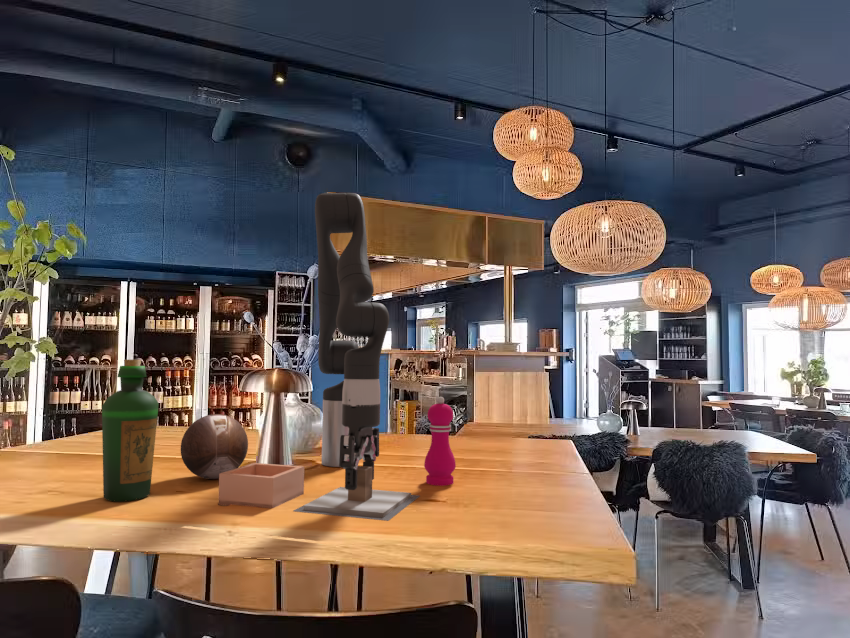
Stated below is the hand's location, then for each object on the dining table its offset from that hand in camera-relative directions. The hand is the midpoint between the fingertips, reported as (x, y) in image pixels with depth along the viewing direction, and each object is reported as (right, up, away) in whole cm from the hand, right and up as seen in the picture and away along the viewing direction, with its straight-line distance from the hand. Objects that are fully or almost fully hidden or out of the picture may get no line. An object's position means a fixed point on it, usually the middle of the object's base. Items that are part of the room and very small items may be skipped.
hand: (359, 484), depth 113 cm
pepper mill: (+16, -6, +19) cm, 26 cm away
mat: (0, -4, 0) cm, 4 cm away
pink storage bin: (-20, -4, +3) cm, 21 cm away
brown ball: (-37, -5, +23) cm, 44 cm away
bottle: (-48, -4, +4) cm, 48 cm away
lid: (0, -4, 0) cm, 4 cm away
